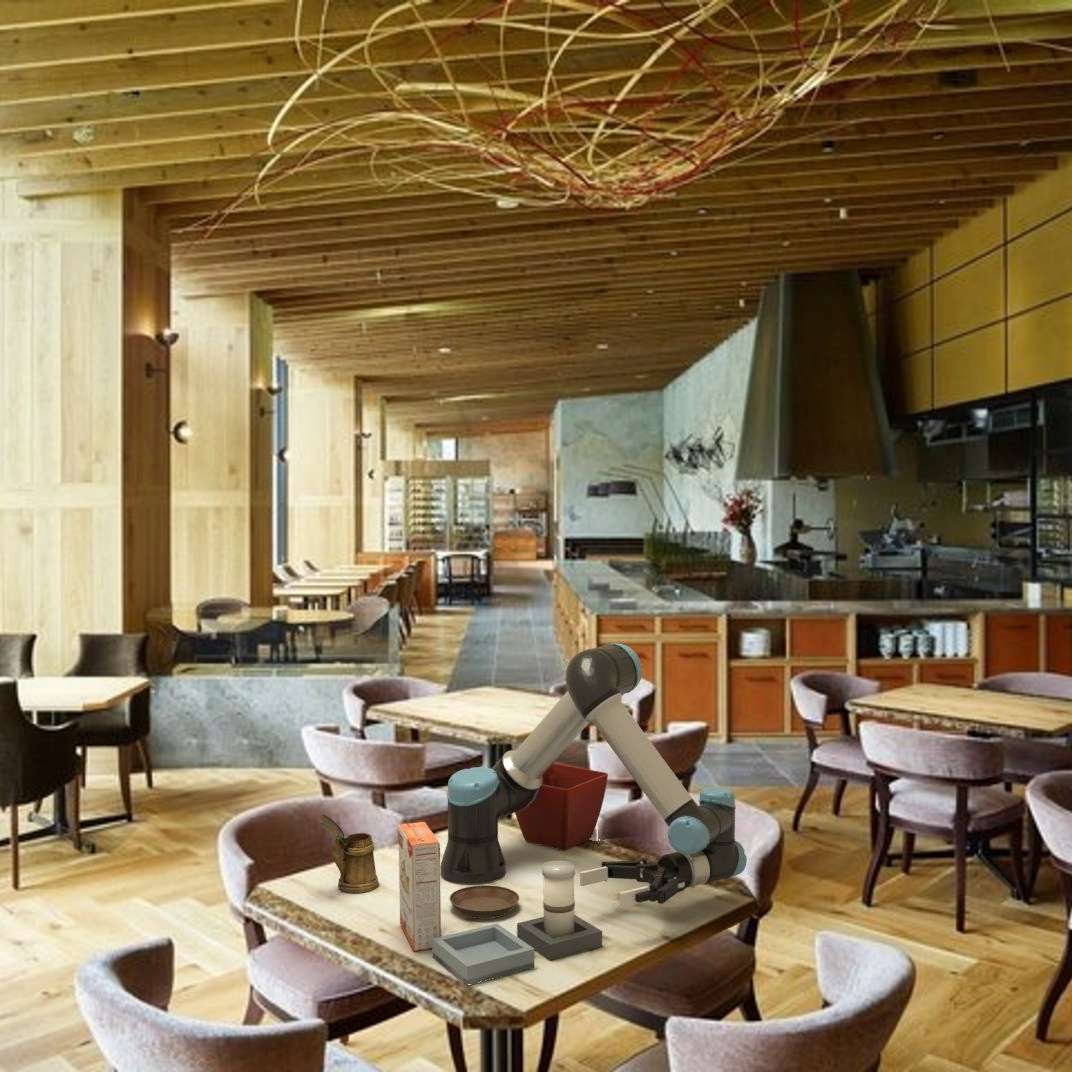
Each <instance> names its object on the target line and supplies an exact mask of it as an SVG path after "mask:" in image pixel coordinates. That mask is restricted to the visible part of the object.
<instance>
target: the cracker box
mask: <svg viewBox="0 0 1072 1072" xmlns="http://www.w3.org/2000/svg"><path fill="white" fill-rule="evenodd" d="M397 828H398V874H399V875H398V878H399V879H398V880H399V882H398V885H399V924H400V926H401V928H402V930H403V933H404V935H405V937H406V938H407V941H408V943H409V945H410V947H411V950H412V951H413V952H420V951H426V950H427V951H428V950H432V939H434V938H438V937H442V916H441V915H442V914H441V910H442V909H441V901H442V900H441V897H442V896H441V843H440V841H439V839H438V838H437V837H436V836H435V834H434V833H433V831H432V830H431V829H430V828H429V826H428V825H427V823H426V822H425V821H419V822H406V823H401V824H398V826H397Z"/></svg>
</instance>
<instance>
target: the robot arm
mask: <svg viewBox="0 0 1072 1072" xmlns="http://www.w3.org/2000/svg"><path fill="white" fill-rule="evenodd" d="M642 668H643V667H642V662H641V660H640V657H639V656H638V654H637V653H636V651H634V650H633V649H632V648H631V647H629V646H628V645H625V644H622V643H607V644H605V645H602V646H599V647H593V648H588V649H584V650H582V651H580V652H578V653H576V654H575V655H574V656H573V657H572V658H571V659H570V661H569V663H568V665H567V667H566V670H565V684H566V689H567V691H566V692H565V693H564V694H563V695H562V697H561V698H560V699H559V700H558V702H557V703H556V704H555V705H554V706H553V707H552V708H551V710H549V712H548V713H547V714H546V715H545V717H544V718H543V719H541V721H540V722H539V723H538V724H537V726H536V727H535V728H534V729H533V730H532V731H531V733H529V735H528V736H527V737H526V739H524V741H523V742H522V743H521V744H520V745H519V746H518V748H516V749H515V750H508V751H506V752H505V753H504V754H503V755H502V756H501V757H500V758H499V760H498V761H497V762H496V763H495V764H494V765H493V766H492V767H491V768H489V767H484V766H483V767H481V766H478V767H477V766H476V767H475V766H474V767H471V768H464V769H461V770H459V771H456V772H455V773H453V774H452V775H451V776H450V778H449V779H448V781H447V782H448V783H447V792H446V798H447V843H446V846H445V849H444V852H443V856H442V859H441V861H440V877H441V878H442V879H444V880H445V881H448V882H451V883H454V884H460V885H481V884H488V883H491V882H496V881H497V880H500V879H502V878H503V877H505V875H506V873H507V872H506V870H507V867H506V860H505V857H504V853H503V851H502V847H501V845H500V842H499V841H500V840H499V820H501V819H503V818H505V817H507V816H510V815H512V814H515V812H517V811H520V810H522V809H524V808H526V807H527V806H529V805H530V804H531V803H532V802H533V801H534V799H535V798H536V796H537V794H538V791H539V788H540V786H541V785H542V783H543V777H542V775H543V774H544V772H545V771H546V770H547V769H548V768H549V767H550V766H551V765H552V764H553V763H555V762H556V760H557V759H558V758H559V757H560V756H561V755H562V753H564V751H565V750H566V749H567V748H568V747H569V746H570V745H571V743H573V741H574V740H575V739H577V736H579V735H580V734H581V732H582V731H583V730H584V729H585V728H586V727H587V726H588V724H590V723H592V724H593V725H594V726H595V727H596V729H597V730H598V731H599V733H600V734H601V735H602V737H603V738H604V740H605V741H606V743H607V744H608V745H609V746H610V748H611V749H612V752H614V754H615V755H616V756H617V758H618V759H619V760H620V762H621V763H622V765H623V766H624V767H625V769H626V770H627V771H628V773H629V774H630V776H631V777H632V778H633V780H634V781H635V782H636V784H637V785H638V786H639V788H640V789H641V791H642V792H643V793H644V795H645V796H646V798H647V799H648V801H650V804H651V805H652V806H653V807H654V808H655V810H656V811H657V812H658V814H659V815H660V817H661V818H662V819H663V821H664V822H665V824H666V825H667V827H668V830H667V839H668V842H669V845H671V848H672V849H673V850H675V851H674V852H670V853H667V854H663V855H662V856H661V857H660V859H659V861H658V862H656V863H654V862H653V863H651V862H650V863H647V862H648V860H647V859H645V858H643V859H637V860H616V861H615V860H614V861H612V860H611V861H601V864H600V865H601V867H597V868H593V869H588V870H584V871H580V872H579V886H581V887H584V886H585V887H586V886H590V885H592V884H593V885H594V884H597V883H603V882H607V881H608V880H609V879H617V880H618V879H619V880H620V879H621V880H635V881H636V882H638V883H648V884H649V887H648V886H646V885H645V886H641V887H638V888H637V887H636V888H632V889H629V890H624V891H620V892H618V907H620V909H621V908H626V907H629V906H630V907H631V906H634V905H637V904H642V903H645V902H656V901H657V904H659V905H663V904H665V903H666V902H667V901H669V900H671V898H673V897H674V896H675V895H677V894H678V893H680V892H684V891H685V889H688V888H692V889H695V888H696V886H701V885H704V884H708V883H713V882H716V881H717V882H718V881H721V880H728V879H730V878H733V877H735V876H736V877H737V876H738V875H741V874H742V873H743V872H744V871H745V868H746V867H747V862H748V861H747V855H746V854H745V848H744V847H743V845H742V844H741V843H740V842H739V841H737V840H736V809H737V806H736V797H735V796H736V795H735V793H734V791H733V790H732V789H730V788H727V787H722V786H708V787H707V786H706V787H704V788H702V789H701V790H700V792H699V799H698V802H699V805H698V804H697V802H696V801H695V799H693V797H692V796H691V794H690V793H689V792H688V791H687V789H686V788H685V787H684V785H683V783H682V782H681V781H680V779H679V778H678V777H677V775H676V774H675V773H674V771H673V770H672V769H671V768H670V766H669V765H668V763H667V762H666V761H665V759H664V758H663V757H662V755H661V754H660V752H659V751H658V750H657V749H656V747H655V746H654V744H653V743H652V742H651V740H650V739H649V737H648V736H647V735H646V733H645V732H644V731H643V730H642V728H641V727H640V726H639V724H638V723H637V722H636V720H635V718H634V717H633V716H632V714H631V713H630V711H629V710H628V709H627V708H626V706H625V705H624V704H623V702H622V697H623V696H624V695H625V694H628V693H631V692H632V691H634V690H635V689H636V687H638V685H639V684H640V682H641V680H642V676H643V675H642V674H643V671H642ZM641 876H642V877H641Z"/></svg>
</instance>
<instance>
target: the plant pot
mask: <svg viewBox="0 0 1072 1072" xmlns="http://www.w3.org/2000/svg"><path fill="white" fill-rule="evenodd" d="M608 775H609V774H608V772H604V771H599V770H594V769H589V768H583V767H577V766H573V765H567V764H561V763H557V762H556V763H555V762H553V764H552V765H551V766H550V767H549V768H548V769H547V770H546V771H545V772H544V774H543V775H542V777H543V783H542V785H541V786H540V788H539V791H538V794H537V796H536V798H535V799H534V801H533V802H532V803H531V804H530V805H529V806H527V807H526V808H524V809H522V810H520V811H517V812H514V814H515V816H516V820H517V822H518V823H517V824H518V826H519V829H520V831H521V835H523V838H524V841H525V842H528V843H531V844H535V845H540V846H544V847H548V848H551V849H555V850H559V851H566V850H569V849H571V848H573V847H575V846H577V845H579V844H581V843H583V842H585V841H588V840H589V839H592V837H593V835H594V833H595V830H596V826H597V825H598V820H599V817H600V815H601V810H602V807H603V805H604V804H603V803H604V798H605V794H606V790H607V783H608Z"/></svg>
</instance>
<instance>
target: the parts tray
mask: <svg viewBox="0 0 1072 1072" xmlns="http://www.w3.org/2000/svg"><path fill="white" fill-rule="evenodd" d="M431 951H432V952H431V953H432V955H431V956H432V958H433V959H434V960H435V961H436V962H437V963H439V964H440V965H442V967H443V968H445V969H446V970H447V971H448V972H449V973H451V974H452V975H453V976H454V977H456V978H457V979H458V978H459V979H460V980H461V981H460V980H459V979H458V980H459V981H460V982H462V981H463V982H464V983H465V984H466V985H468V984H473V983H476V984H479V983H478V982H480V981H484V982H486V981H485V980H487V981H490V980H489V979H491V980H493V979H492V978H495V979H497V977H498V978H501V976H502V977H505V976H509V975H513V974H516V973H520V972H524V971H527V970H530V969H535V950H534V948H532V947H531V946H529V945H528V944H527V943H525V942H524V941H522V940H521V939H519V938H518V937H517V935H515V934H514V933H512V932H510V931H509V930H507V929H506V928H505V927H504V926H501V925H500V924H499V923H492V924H489V925H484V926H480V927H476V928H472V929H468V930H463V931H460V932H454V933H451V934H447V935H443V936H442V935H441V937H438V938H434V939H432V949H431ZM463 982H462V983H463ZM464 983H463V984H464ZM480 983H481V982H480ZM465 984H464V985H465ZM466 985H465V986H466ZM473 985H474V984H473Z"/></svg>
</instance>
